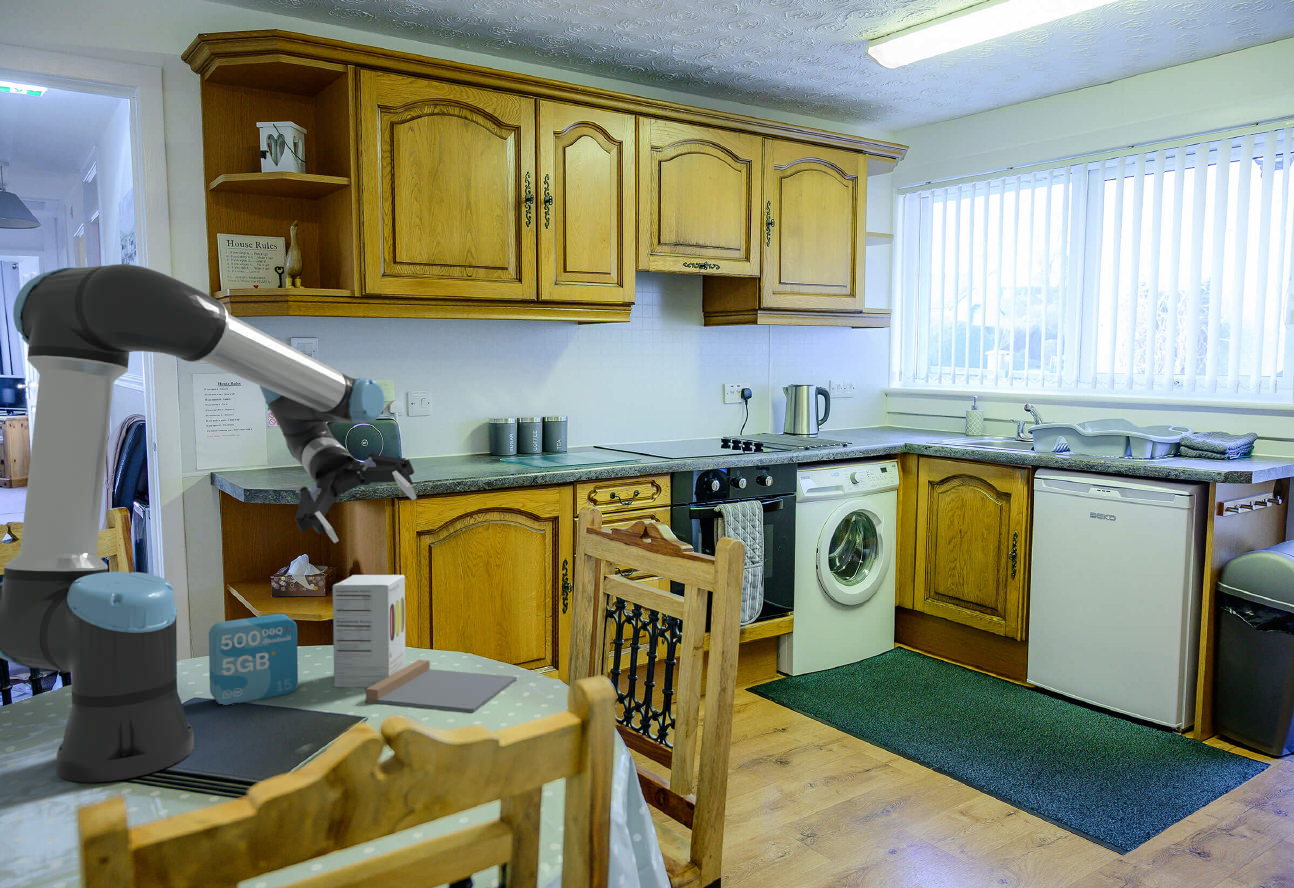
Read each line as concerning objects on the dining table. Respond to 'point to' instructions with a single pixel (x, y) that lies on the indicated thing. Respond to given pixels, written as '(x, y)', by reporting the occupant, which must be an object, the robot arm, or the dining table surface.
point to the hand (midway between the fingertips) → (373, 513)
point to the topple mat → (437, 688)
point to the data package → (253, 658)
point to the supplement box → (368, 629)
